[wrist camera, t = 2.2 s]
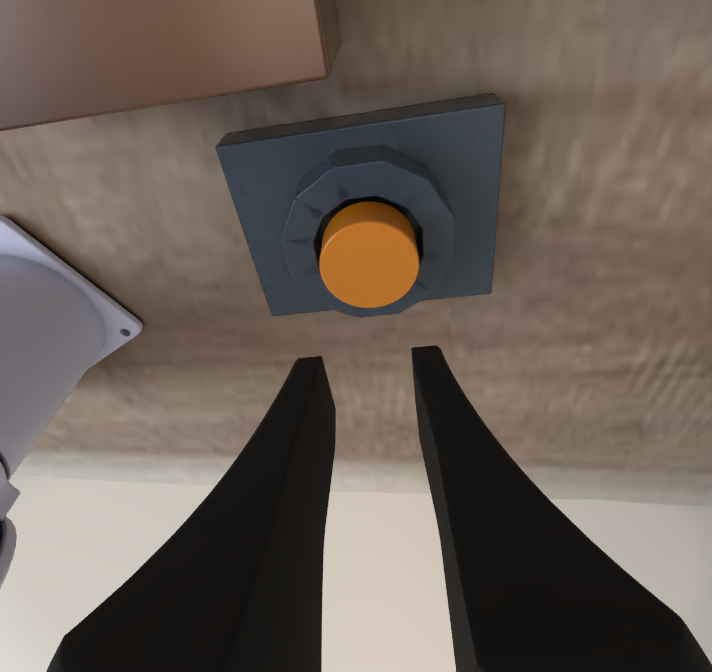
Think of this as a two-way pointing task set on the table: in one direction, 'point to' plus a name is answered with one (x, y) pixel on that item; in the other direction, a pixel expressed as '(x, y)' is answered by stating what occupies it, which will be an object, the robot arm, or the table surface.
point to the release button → (369, 255)
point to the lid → (149, 53)
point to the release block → (371, 195)
